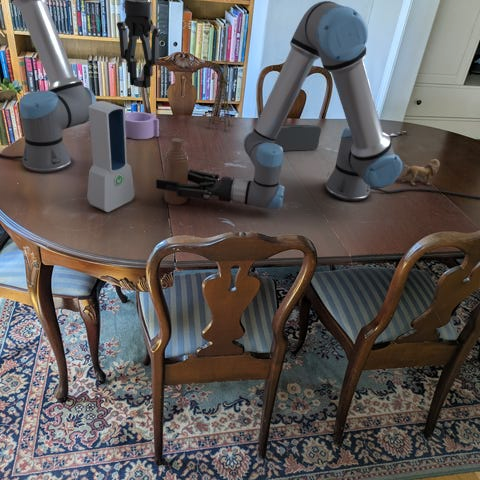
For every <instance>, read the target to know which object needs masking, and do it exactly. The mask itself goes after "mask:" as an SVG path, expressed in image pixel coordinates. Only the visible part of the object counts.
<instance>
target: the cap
mask: <svg viewBox="0 0 480 480" xmlns="http://www.w3.org/2000/svg"><path fill="white" fill-rule="evenodd" d="M132 86H134V87H135V88H136V87H137V88H144V76H143V77H142V76H137V77H135V78H133V85H132Z"/></svg>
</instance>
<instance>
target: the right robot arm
mask: <svg viewBox="0 0 480 480" xmlns="http://www.w3.org/2000/svg"><path fill="white" fill-rule="evenodd" d="M368 38H369V28H368V25H367V22H366V20H365V18H364V17H363V16H362V15H361V14H360V13H359V12H358V11H356V10H355V9H354V8H352V7H350V6H346V5H342V4H339V3H336V2H334V1H330V0H322V1H319V2H317V3H314V4H313V5H311V6H310V7H309V9H307V11H306V12H305V13H304V14H303V16H302V18H301V20H300V21H299V23H298V25H297V27H296V29H295V32H294V33H293V35H292V37H291V39H290V42H289V44H290V50H289V53H288V55H287V57H286V59H285V61H284V64H283V66H282V68H281V69H280V72H279V74H278V76H277V79H276V81H275V83H274V85H273V87H272V89H271V92H270V94H269V96H268V97H267V100H266V101H265V104H264V106H263V109H262V111H261V112H260V115H259V117H258V120H257V122H256V123H255V126H254V128H253V130H252V131H250V132H249V133H247V134H246V135H245V137H244V138H243V147H244V151H245V153H246V155H247V156H248V158H249V159H250V161H251V163H252V165H253V167H254V175H253V180H250V179H244V178H238V177H237V178H234V177H230V176H225V175H224V176H222V177H221V178H219V177H220V174H216V173H214V174H213V173H209V172H205V171H200V170H196V169H188V182H190V183H191V184H189V183H188V184H179V182H177V183H176V182H170V181H164V179H156V180H155V189H158V190H163V191H164V190H169V191H175V192H176V193H177V196H179V197H187V199H189V198H190V199H198V200H204V201H210V200H211V199H210V198H211V197H218V200H219V201H220V202H225V203H230V202H232V203H233V204H239V205H240V206H242V205H245V206H250V207H256V208H261V209H265V210H276V211H277V210H280V209H281V208H282V206H283V201H284V196H285V186H284V185H281V184H280V178H281V171H282V165H283V161H284V151H283V149H282V147H281V146H278V145H277V144H274V142H275V140H276V137H277V135H278V133H279V131H280V129H281V127H282V125H284V123H285V121H286V119H287V117H288V115H289V113H290V111H291V110H292V107H293V106H294V104H295V101H296V99H297V98H298V95H299V93H300V92H301V89H302V87H303V85H304V84H305V81H306V79H307V78H308V75H309V74H310V72H311V69H312V67H313V65H314V63H315V61H317V60H319V59H320V62H321V64H322V68H323V69H324V71H326V72H329V73H331V76H332V79H333V82H334V85H335V89H336V92H337V95H338V98H339V101H340V104H341V107H342V111H343V114H344V117H345V119H346V123H347V127H345V128H344V129H343V131H342V134H341V136H340V143H339V148H338V153H337V157H336V162H335V165H334V169H333V171H332V172H331V173H330V172H328V173H327V175H326V178H328V179H327V180H326V183H325V188H324V189H325V191H326V192H327V194H329V195H330V196H331V197H333V198H335V199H338V200H340V201H345V202H351V203H356V202H357V203H359V202H363V201H366V200H368V199H369V197H370V194H371V190H373V191H379V192H381V193H385V194H393V193H399V192H408V191H409V192H411V191H423V192H425V191H426V192H433V193H434V192H436V193H441V194H449V195H455V196H460V197H467V198H472V199H479V200H480V196H478V195H471V194H467V193H466V194H465V193H460V192H453V191H449V190H442V189H435V188H423V187H422V188H419V187H418V188H417V187H413V188H412V187H411V188H400V189H394V190H386V189H385V190H384V189H383V188H387V187H389V186H391V185H393V184H394V183H395V182H396V181H397V180H398V177H399V176H400V175H401V173H402V171H403V161H402V159H401V158H400V156H399V155H397V154H395V152H394V148H393V144H392V141H391V137H389V136H388V135H389V134H386V133H385V132H383V128H382V124H381V121H380V118H379V114H378V110H377V107H376V103H375V100H374V99H375V98H374V95H373V92H372V89H371V88H372V87H371V84H370V81H369V77H368V74H367V70H366V66H365V62H364V59H365V58H366V55H367V54H368V50H367V47H366V43H367V42H368ZM329 174H330V175H329ZM328 176H329V177H328ZM192 183H193V184H192Z"/></svg>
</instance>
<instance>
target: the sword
mask: <svg viewBox="0 0 480 480" xmlns="http://www.w3.org/2000/svg"><path fill="white" fill-rule="evenodd" d="M404 134H406V133H402V134H400V132H393V133H390V134H387V135H388V136H389V137H390V138H391V137H394V136H395V137H398V136H399V135H404Z"/></svg>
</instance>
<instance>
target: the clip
mask: <svg viewBox="0 0 480 480" xmlns="http://www.w3.org/2000/svg"><path fill="white" fill-rule="evenodd" d="M159 120H160V119H158V118H157V114H156V113H148V112H143V111H132V112H131V111H130V112H127V113H125V127H126V138H129V139H132V140H148V139H151V138H153V137H156V138H157V137H159V136H160V121H159Z"/></svg>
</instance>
